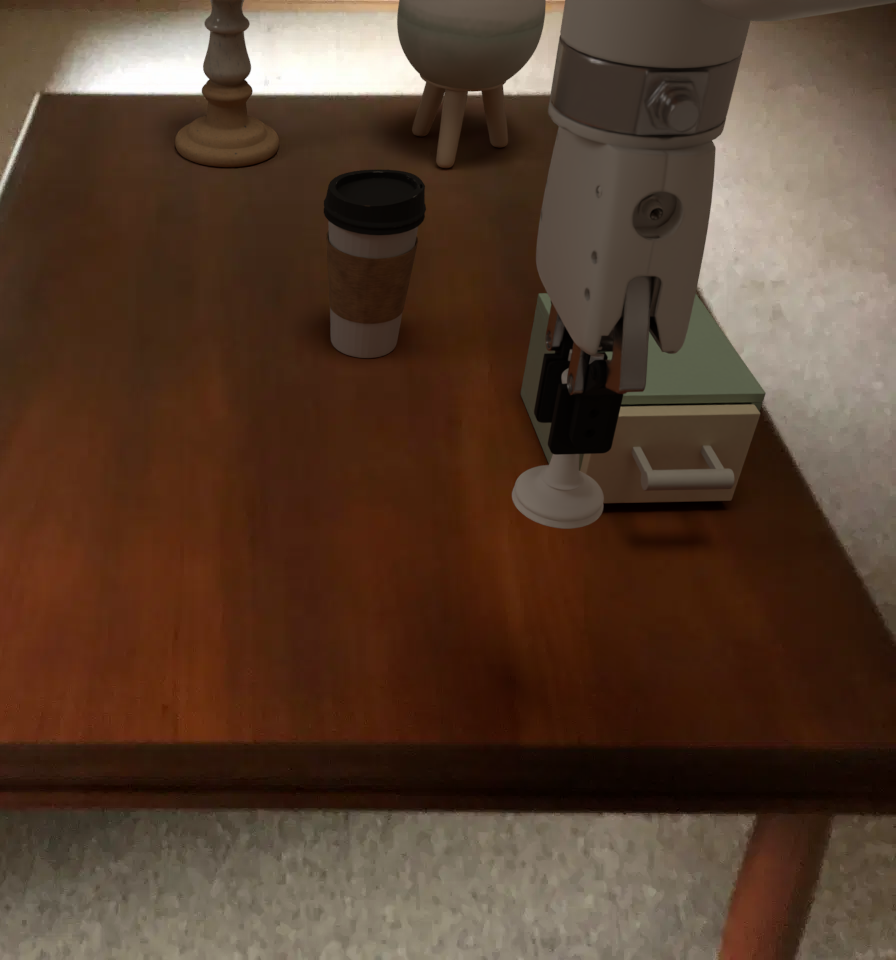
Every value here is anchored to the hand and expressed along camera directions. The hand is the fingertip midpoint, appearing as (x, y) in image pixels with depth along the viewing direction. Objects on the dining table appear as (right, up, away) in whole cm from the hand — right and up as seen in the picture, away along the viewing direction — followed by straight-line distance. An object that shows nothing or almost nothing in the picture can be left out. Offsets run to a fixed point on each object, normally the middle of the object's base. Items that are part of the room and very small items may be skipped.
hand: (571, 432), depth 62 cm
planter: (+7, +37, +78) cm, 87 cm away
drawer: (+12, -1, +28) cm, 31 cm away
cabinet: (+12, 0, +31) cm, 34 cm away
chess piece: (0, -4, +3) cm, 5 cm away
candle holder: (-20, +37, +78) cm, 89 cm away
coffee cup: (-7, +10, +43) cm, 45 cm away
